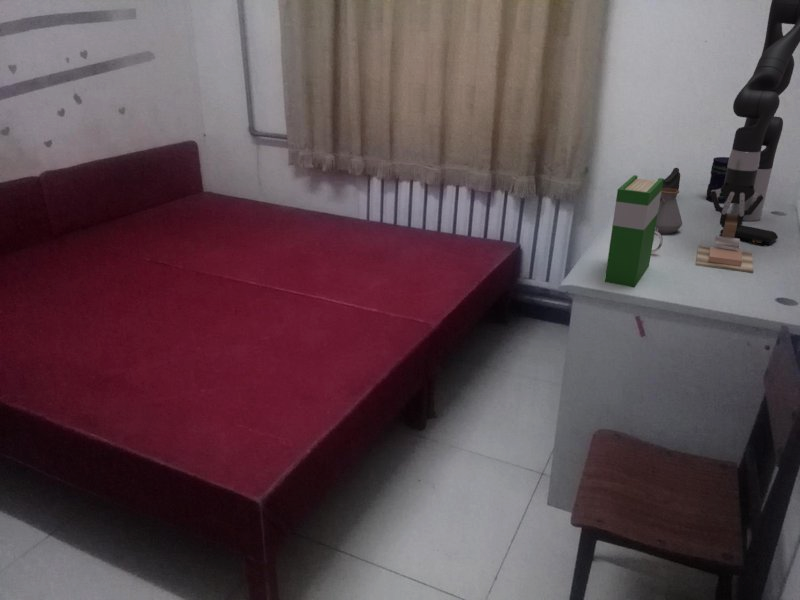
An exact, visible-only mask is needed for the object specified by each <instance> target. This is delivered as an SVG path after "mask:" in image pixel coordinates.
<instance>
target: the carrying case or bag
mask: <svg viewBox="0 0 800 600" xmlns="http://www.w3.org/2000/svg"><path fill="white" fill-rule="evenodd" d="M719 233H720V235H721V236H722V233H723V228H722V229H720V230H719ZM734 238H738V239H740V242H744V241H745V243H749V242H750V243H749V244H754V243H755V244H754V245H759V244H760V245H759V246H764V245H767V246H769V245H770V244H772V243H774V242H775V241H776V240H778V238H779V236H778V234H777V233H776V232H775V231H772V230H767V229H763V228H758V227H753V226H747V225H743V224H742V226H741V227H738V229H736V232H735V236H734Z"/></svg>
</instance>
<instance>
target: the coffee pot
mask: <svg viewBox="0 0 800 600" xmlns="http://www.w3.org/2000/svg"><path fill="white" fill-rule="evenodd" d="M679 193H680V190H679V191H678V190H676V189H672V188H662V192H661V198H660V204H659V209H658V215H657V221H656V230H657V228H658V232H659V233H660V234H664V235H666V234H668V233H669V234H673V233H674V232H675V231H677V230H679V229H680V228H681V227H682V225H683V221H682V215H681V213H680V209H679V208H680V207H679V205H678V201H677V195H678V194H679Z"/></svg>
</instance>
